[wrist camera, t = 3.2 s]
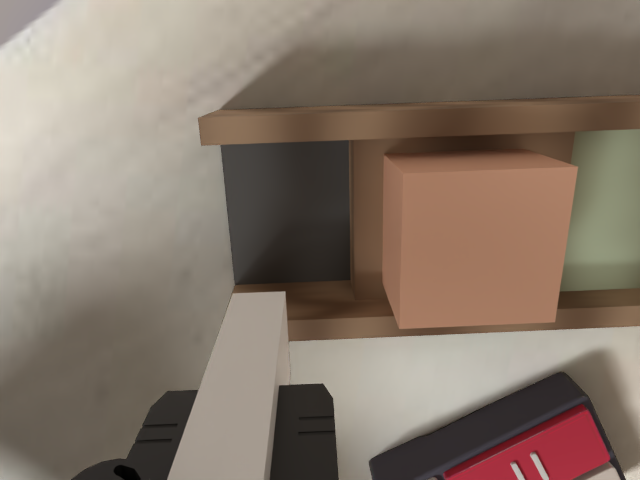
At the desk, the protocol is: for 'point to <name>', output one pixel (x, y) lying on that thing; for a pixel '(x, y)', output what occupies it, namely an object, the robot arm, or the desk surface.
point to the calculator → (512, 441)
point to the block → (474, 236)
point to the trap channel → (367, 203)
